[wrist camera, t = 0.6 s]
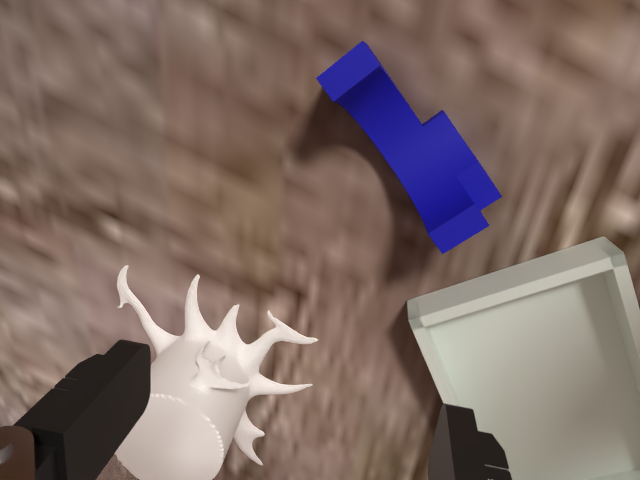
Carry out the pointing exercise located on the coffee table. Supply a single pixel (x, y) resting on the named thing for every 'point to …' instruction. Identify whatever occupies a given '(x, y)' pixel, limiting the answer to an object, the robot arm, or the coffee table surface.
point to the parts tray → (544, 361)
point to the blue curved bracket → (415, 148)
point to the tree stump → (198, 393)
